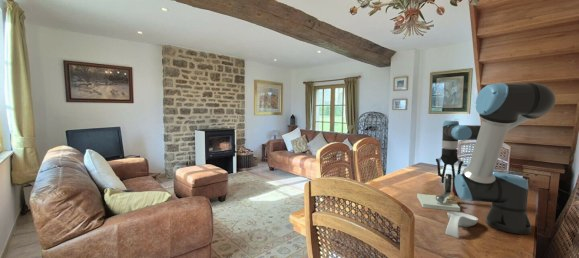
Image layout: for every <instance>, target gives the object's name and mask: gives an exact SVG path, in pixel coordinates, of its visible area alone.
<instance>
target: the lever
mask: <svg viewBox="0 0 579 258" xmlns="http://www.w3.org/2000/svg"><path fill="white" fill-rule="evenodd" d="M445 177H446V180H445V190H444V192H442V194H439V195H436V200H438V201H444V200H445V198H446V197H449V195H451V194H450V193H452V191H451V178H453V175H452V174H451V173H445Z"/></svg>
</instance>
